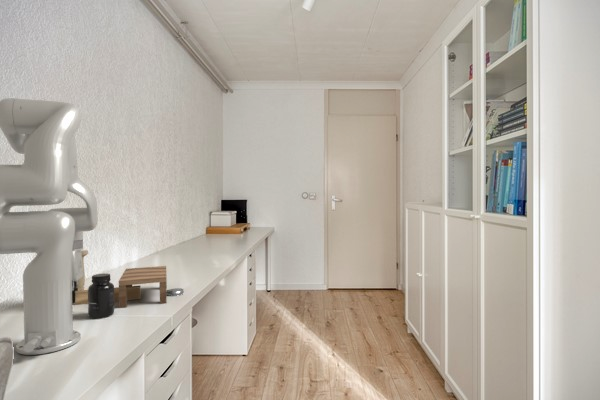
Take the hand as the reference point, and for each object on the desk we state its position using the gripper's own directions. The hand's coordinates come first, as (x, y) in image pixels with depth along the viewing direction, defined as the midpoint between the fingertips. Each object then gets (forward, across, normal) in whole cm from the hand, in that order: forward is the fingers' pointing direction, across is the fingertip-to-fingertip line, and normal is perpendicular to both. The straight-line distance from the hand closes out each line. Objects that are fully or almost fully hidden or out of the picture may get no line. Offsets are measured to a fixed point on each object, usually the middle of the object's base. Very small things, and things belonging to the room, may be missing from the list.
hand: (71, 301), depth 121 cm
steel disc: (+1, +1, -32) cm, 32 cm away
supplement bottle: (+1, -17, -12) cm, 21 cm away
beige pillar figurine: (+1, +19, +2) cm, 19 cm away
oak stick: (+1, 0, -9) cm, 9 cm away
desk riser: (+1, 0, -22) cm, 23 cm away
